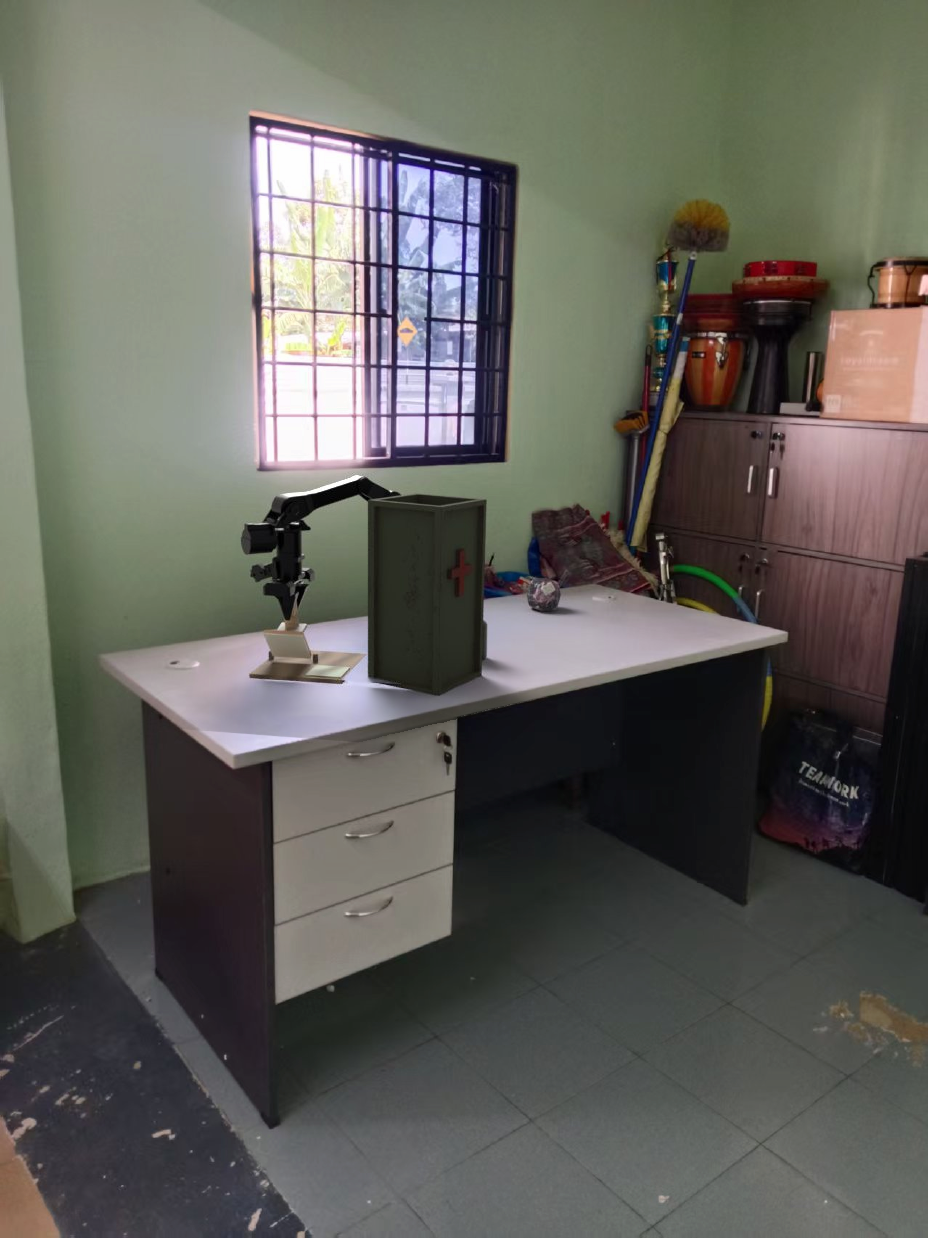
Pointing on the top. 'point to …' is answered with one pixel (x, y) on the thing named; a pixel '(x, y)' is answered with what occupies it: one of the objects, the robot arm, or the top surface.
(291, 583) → the robot arm
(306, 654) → the tile
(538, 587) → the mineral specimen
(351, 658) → the board
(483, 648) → the supplement bottle
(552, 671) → the top surface
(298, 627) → the stamp
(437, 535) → the first aid box
